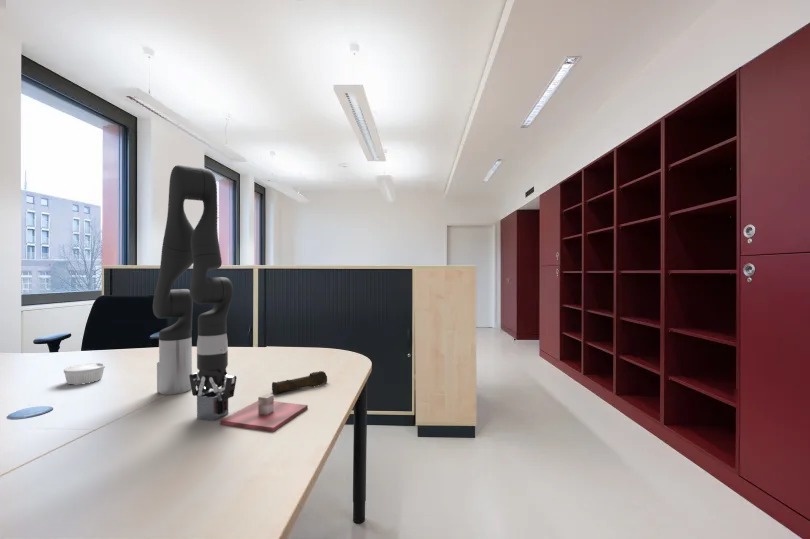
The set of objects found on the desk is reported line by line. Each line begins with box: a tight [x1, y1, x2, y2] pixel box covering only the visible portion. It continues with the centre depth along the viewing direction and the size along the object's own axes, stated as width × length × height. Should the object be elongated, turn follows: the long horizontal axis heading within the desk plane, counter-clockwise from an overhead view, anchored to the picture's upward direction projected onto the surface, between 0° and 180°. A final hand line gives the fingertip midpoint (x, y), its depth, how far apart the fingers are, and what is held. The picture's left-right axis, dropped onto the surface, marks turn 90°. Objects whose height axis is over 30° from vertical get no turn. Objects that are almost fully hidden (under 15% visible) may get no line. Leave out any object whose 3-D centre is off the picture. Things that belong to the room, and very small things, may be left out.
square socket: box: [196, 389, 229, 422], centre depth 105 cm, size 5×5×6 cm
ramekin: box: [63, 362, 106, 385], centre depth 137 cm, size 11×11×5 cm
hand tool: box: [271, 370, 328, 395], centre depth 129 cm, size 19×4×5 cm, turn 126°
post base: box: [219, 393, 309, 433], centre depth 105 cm, size 16×16×6 cm
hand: (213, 412), depth 105 cm, fingers closed on square socket, 5 cm apart
